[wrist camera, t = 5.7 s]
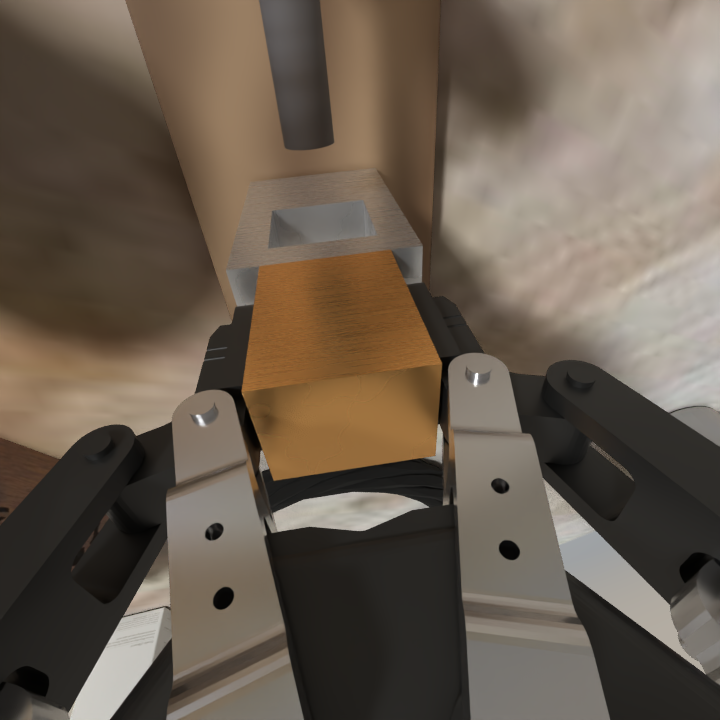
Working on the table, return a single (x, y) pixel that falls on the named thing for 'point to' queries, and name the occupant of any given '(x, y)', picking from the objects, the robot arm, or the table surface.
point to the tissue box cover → (27, 481)
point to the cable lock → (361, 483)
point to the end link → (333, 325)
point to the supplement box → (123, 663)
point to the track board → (294, 99)
